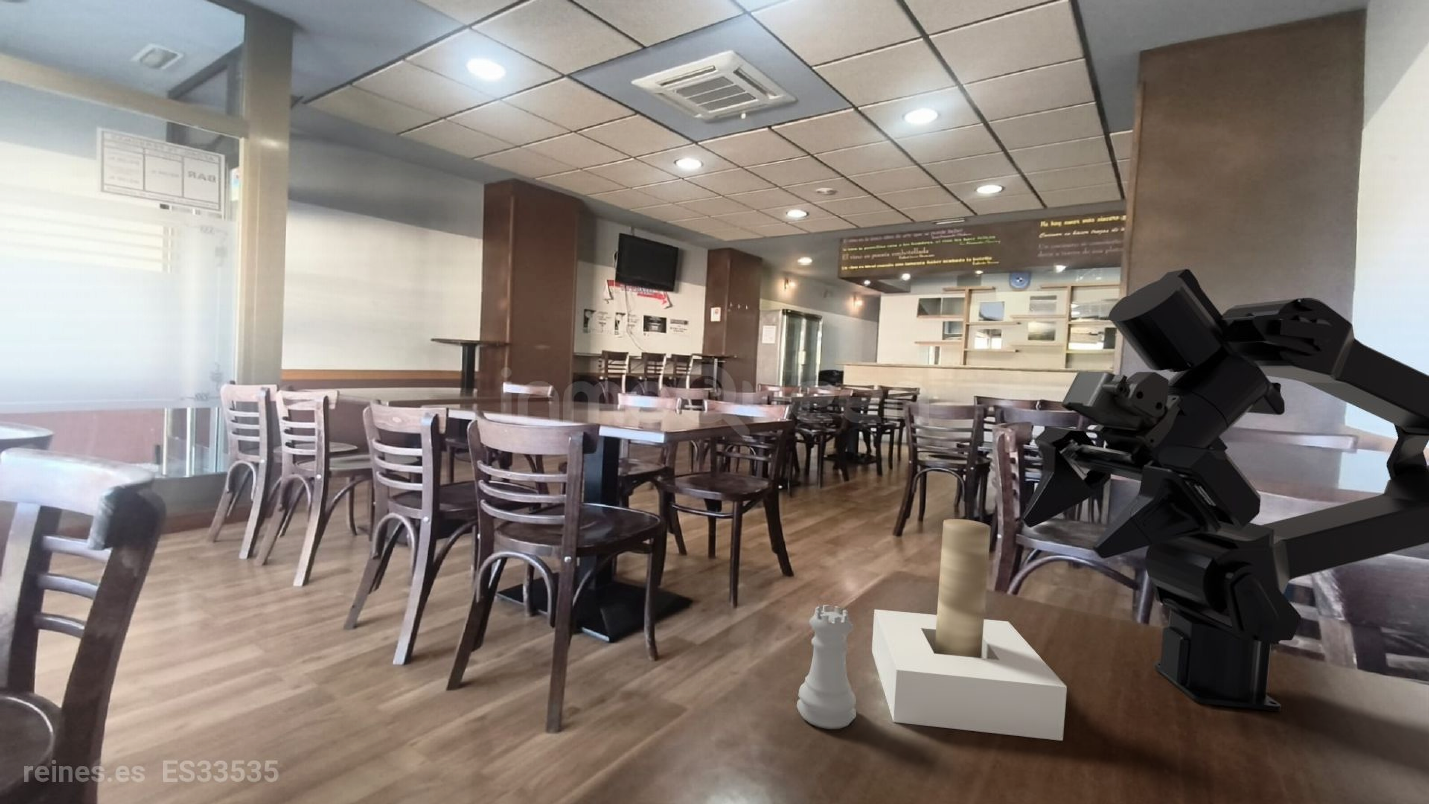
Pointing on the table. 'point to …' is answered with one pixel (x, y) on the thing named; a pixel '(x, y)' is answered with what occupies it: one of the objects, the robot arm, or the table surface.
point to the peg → (962, 588)
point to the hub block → (966, 679)
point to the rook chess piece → (828, 673)
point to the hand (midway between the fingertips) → (1058, 537)
